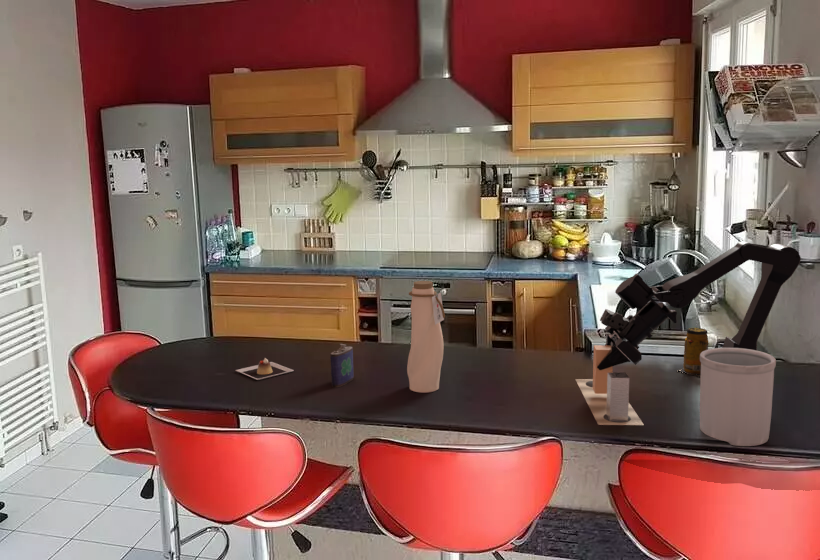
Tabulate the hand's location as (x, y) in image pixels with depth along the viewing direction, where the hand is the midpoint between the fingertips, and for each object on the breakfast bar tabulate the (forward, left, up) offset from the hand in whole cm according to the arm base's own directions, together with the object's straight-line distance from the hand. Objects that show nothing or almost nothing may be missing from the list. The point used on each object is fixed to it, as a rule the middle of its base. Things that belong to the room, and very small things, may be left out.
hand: (597, 366), depth 182 cm
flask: (+21, +63, -9) cm, 67 cm away
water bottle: (+14, +41, -9) cm, 44 cm away
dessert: (+33, +85, -9) cm, 92 cm away
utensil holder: (-24, -22, -9) cm, 34 cm away
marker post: (0, -1, -6) cm, 6 cm away
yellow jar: (+20, -34, -9) cm, 41 cm away
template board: (-2, -2, -9) cm, 9 cm away
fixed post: (-14, 0, -8) cm, 16 cm away
